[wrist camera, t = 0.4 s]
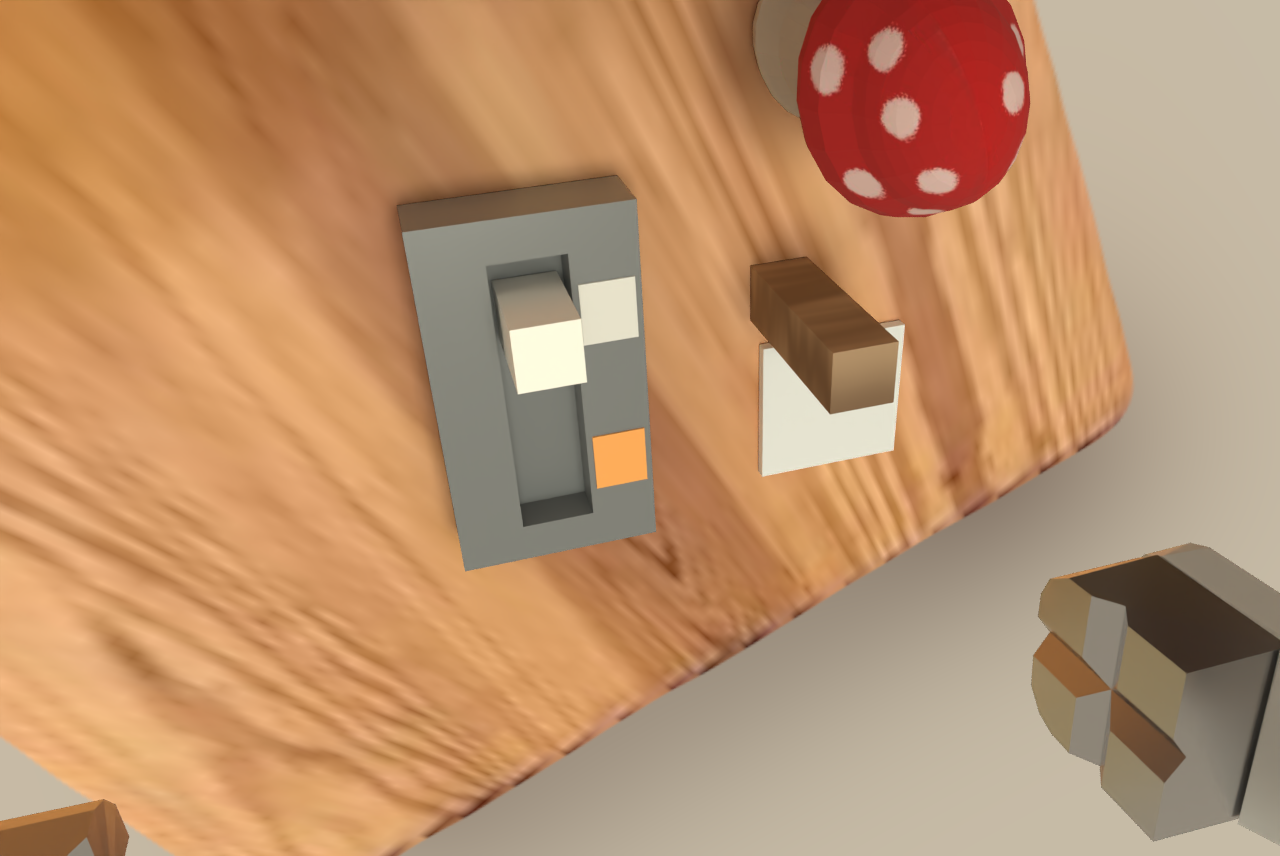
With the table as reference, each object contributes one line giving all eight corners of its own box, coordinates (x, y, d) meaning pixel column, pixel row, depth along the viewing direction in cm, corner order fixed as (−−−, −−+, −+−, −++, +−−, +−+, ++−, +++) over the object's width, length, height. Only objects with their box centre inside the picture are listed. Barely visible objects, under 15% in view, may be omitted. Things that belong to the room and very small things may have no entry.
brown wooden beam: (750, 265, 51) (833, 353, 43) (806, 256, 52) (898, 341, 43) (750, 319, 53) (829, 414, 44) (804, 310, 53) (893, 402, 45)
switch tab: (491, 280, 46) (509, 330, 42) (556, 270, 47) (581, 318, 42) (499, 340, 48) (518, 394, 43) (562, 329, 48) (587, 382, 44)
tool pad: (759, 344, 53) (763, 349, 53) (899, 319, 55) (904, 324, 54) (758, 471, 58) (762, 476, 57) (888, 444, 59) (893, 450, 59)
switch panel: (397, 205, 45) (402, 233, 42) (617, 175, 47) (636, 199, 44) (457, 531, 54) (465, 572, 51) (638, 494, 56) (656, 532, 53)
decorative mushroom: (916, 92, 49) (1120, 188, 36) (757, 181, 49) (906, 306, 36) (855, -121, 43) (1071, -95, 31) (676, -21, 43) (819, 46, 31)
